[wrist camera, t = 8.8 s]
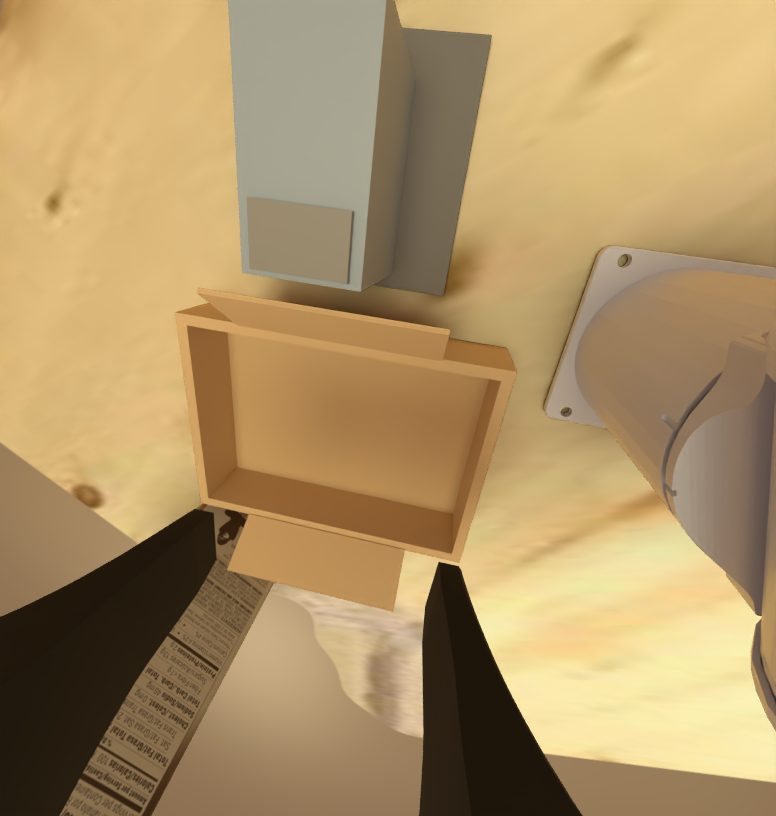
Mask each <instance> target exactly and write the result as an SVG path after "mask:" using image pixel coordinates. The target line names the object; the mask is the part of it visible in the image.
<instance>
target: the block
mask: <svg viewBox="0 0 776 816" xmlns="http://www.w3.org/2000/svg"><path fill="white" fill-rule="evenodd" d="M228 7H229V26H230V45H231V65H232V84H233V103H234V123H235V142H236V161H237V180H238V200H239V219H240V238H241V258H242V273H246V274H252V275H259V276H265V277H271V278H277V279H284V280H290V281H296V282H302V283H309V284H315V285H321V286H327V287H334V288H340V289H346V290H352V291H358V292H361V291H363V290H365V289H367V288H368V287H370V286H372V285H373V284H375V283H377V282H379V281H380V280H382V279H384V278H385V277H387V276H389V275H391V274H392V269H393V261H394V253H395V245H396V237H397V229H398V221H399V212H400V204H401V196H402V188H403V180H404V172H405V163H406V155H407V147H408V139H409V131H410V123H411V114H412V106H413V98H414V90H415V82H416V77H415V73H414V70H413V66H412V63H411V59H410V55H409V52H408V48H407V45H406V41H405V37H404V34H403V30H402V27H401V23H400V20H399V16H398V12H397V9H396V5H395V2H394V0H228Z"/></svg>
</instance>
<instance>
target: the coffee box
mask: <svg viewBox="0 0 776 816" xmlns="http://www.w3.org/2000/svg"><path fill="white" fill-rule="evenodd" d="M197 509H199V510H204V511H208V512H213V513H214V525H215V541H216V556H217V560H216V561H215V563H214V565H213V567H212V569H211V571H210V573H209V574H208V576H207V578H206V580H205V582H204V583H203V585H202V587H201V589H200V590H199V592H198V593H197V595H196V596H195V598H194V599H193V601H192V602H191V603H190V605H189V606H188V608H187V609H186V611H185V612H184V613H183V615H182V616H181V618H180V619H179V621H178V622H177V623H176V625H175V626H174V628H173V629H172V630H171V632H170V633H169V635H168V636H167V637H166V639H165V640H164V642H163V643H162V644H161V646H160V647H159V649H158V650H157V651H156V653H155V654H154V656H153V657H152V659H151V660H150V661H149V663H148V664H147V666H146V667H145V669H144V670H143V672H142V673H141V675H140V676H139V678H138V679H137V681H136V682H135V684H134V686H133V687H132V689H131V691H130V692H129V694H128V696H127V697H126V699H125V701H124V702H123V704H122V706H121V707H120V709H119V711H118V712H117V714H116V716H115V717H114V719H113V721H112V722H111V724H110V726H109V728H108V729H107V731H106V733H105V735H104V736H103V738H102V740H101V742H100V743H99V745H98V747H97V749H96V750H95V752H94V754H93V756H92V757H91V759H90V761H89V763H88V764H87V766H86V768H85V770H84V772H83V774H82V775H81V777H80V779H79V781H78V783H77V785H76V787H75V788H74V790H73V792H72V794H71V796H70V798H69V799H68V801H67V803H66V805H65V807H64V809H63V810H62V812H61V814H60V816H151V815H152V813H153V811H154V809H155V807H156V806H157V804H158V802H159V800H160V798H161V796H162V794H163V792H164V790H165V788H166V787H167V785H168V783H169V781H170V779H171V777H172V775H173V773H174V771H175V769H176V768H177V766H178V764H179V762H180V760H181V758H182V756H183V754H184V752H185V750H186V749H187V747H188V745H189V743H190V741H191V739H192V737H193V735H194V734H195V732H196V730H197V728H198V726H199V724H200V722H201V720H202V718H203V717H204V715H205V713H206V711H207V709H208V707H209V705H210V703H211V701H212V699H213V697H214V696H215V694H216V692H217V690H218V688H219V686H220V684H221V682H222V680H223V679H224V677H225V675H226V673H227V671H228V669H229V667H230V665H231V663H232V661H233V659H234V658H235V656H236V654H237V652H238V650H239V648H240V646H241V644H242V643H243V641H244V639H245V637H246V635H247V633H248V631H249V629H250V627H251V625H252V624H253V621H254V620H255V618H256V616H257V614H258V612H259V610H260V608H261V606H262V605H263V603H264V601H265V599H266V597H267V595H268V593H269V591H270V589H271V587H272V586H273V584H274V582H272V581H268V580H264V579H260V578H256V577H252V576H248V575H244V574H240V573H236V572H232V571H228V570H227V568H228V566H229V563H230V561H231V558H232V556H233V553H234V551H235V548H236V546H237V543H238V540H239V538H240V535H241V533H242V530H243V528H244V525H245V523H246V520H247V518H248V515H249V514H246V513H242V512H238V511H233V510H229V509H225V508H220V507H216V506H212V505H207V504H202V505H201V506H199V507H198V508H197Z"/></svg>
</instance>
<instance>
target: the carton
mask: <svg viewBox="0 0 776 816" xmlns="http://www.w3.org/2000/svg"><path fill="white" fill-rule="evenodd" d="M197 294H199V295H200V296H201V297H202V298H204V299H205V300H206V301H207V302H209V303H207V304H203V305H200V306H196V307H192V308H189V309H185V310H181V311H178V312H175V317H176V324H177V332H178V339H179V346H180V354H181V361H182V368H183V375H184V383H185V390H186V397H187V405H188V412H189V419H190V426H191V434H192V441H193V448H194V455H195V463H196V470H197V477H198V485H199V492H200V499H201V503H203V504H207V505H212V506H216V507H220V508H225V509H229V510H233V511H238V512H242V513H246V514H249V515H248V518H247V520H246V523H245V525H244V528H243V530H242V533H241V535H240V538H239V540H238V543H237V546H236V548H235V551H234V553H233V556H232V558H231V561H230V563H229V566H228V568H227V570H228V571H232V572H236V573H240V574H244V575H248V576H252V577H256V578H260V579H264V580H268V581H272V582H276V583H280V584H284V585H288V586H292V587H296V588H300V589H304V590H308V591H312V592H316V593H320V594H324V595H328V596H332V597H336V598H340V599H344V600H348V601H352V602H356V603H360V604H364V605H368V606H372V607H376V608H380V609H384V610H388V611H392V612H393V610H394V605H395V599H396V594H397V588H398V583H399V577H400V572H401V567H402V561H403V556H404V550H406V551H411V552H415V553H419V554H424V555H428V556H432V557H437V558H441V559H445V560H450V561H454V562H458V563H459V562H460V559H461V556H462V552H463V549H464V546H465V543H466V539H467V536H468V533H469V529H470V526H471V523H472V519H473V516H474V513H475V509H476V506H477V503H478V499H479V496H480V493H481V490H482V486H483V483H484V480H485V476H486V473H487V470H488V466H489V463H490V460H491V456H492V453H493V450H494V447H495V443H496V440H497V437H498V433H499V430H500V427H501V423H502V420H503V417H504V413H505V410H506V407H507V403H508V400H509V397H510V394H511V390H512V387H513V384H514V380H515V377H516V374H517V371H516V369H515V366H514V364H513V361H512V359H511V357H510V354H509V352H508V349H507V348H504V347H498V346H492V345H486V344H480V343H474V342H468V341H462V340H456V339H450V338H449V334H450V329H443V328H437V327H431V326H425V325H419V324H413V323H407V322H401V321H395V320H389V319H383V318H377V317H371V316H365V315H359V314H353V313H347V312H341V311H335V310H329V309H323V308H317V307H311V306H305V305H299V304H293V303H287V302H281V301H275V300H269V299H263V298H257V297H251V296H245V295H239V294H233V293H227V292H221V291H215V290H209V289H203V288H198V291H197Z"/></svg>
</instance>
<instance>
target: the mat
mask: <svg viewBox="0 0 776 816" xmlns="http://www.w3.org/2000/svg"><path fill="white" fill-rule="evenodd" d="M402 30H403V34H404V37H405V41H406V45H407V48H408V52H409V55H410V59H411V63H412V66H413V70H414V73H415V77H416V82H415V90H414V98H413V106H412V114H411V123H410V131H409V139H408V147H407V155H406V163H405V172H404V180H403V188H402V196H401V204H400V212H399V221H398V229H397V237H396V245H395V253H394V261H393V269H392V274H391V275H389V276H387V277H385V278H384V279H382V280H380V281H379V282H377V283H375V284H373V285H376V286H382V287H389V288H395V289H401V290H408V291H414V292H420V293H427V294H433V295H439V296H443V295H444V289H445V284H446V279H447V273H448V268H449V262H450V257H451V252H452V246H453V241H454V236H455V230H456V225H457V219H458V214H459V209H460V203H461V198H462V193H463V187H464V182H465V177H466V171H467V166H468V160H469V155H470V150H471V144H472V139H473V134H474V128H475V123H476V118H477V112H478V107H479V101H480V96H481V91H482V85H483V80H484V75H485V69H486V64H487V59H488V53H489V48H490V42H491V37H492V35H485V34H473V33H460V32H448V31H436V30H424V29H412V28H402Z"/></svg>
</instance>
